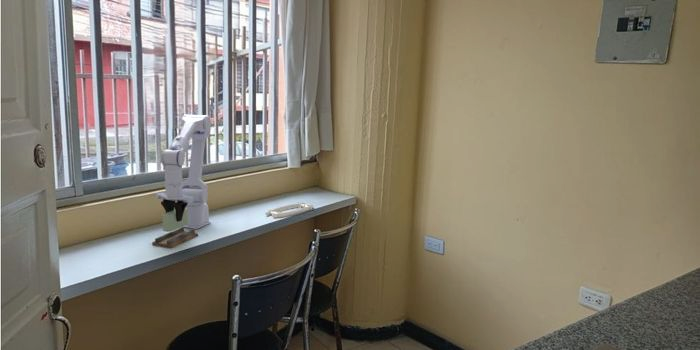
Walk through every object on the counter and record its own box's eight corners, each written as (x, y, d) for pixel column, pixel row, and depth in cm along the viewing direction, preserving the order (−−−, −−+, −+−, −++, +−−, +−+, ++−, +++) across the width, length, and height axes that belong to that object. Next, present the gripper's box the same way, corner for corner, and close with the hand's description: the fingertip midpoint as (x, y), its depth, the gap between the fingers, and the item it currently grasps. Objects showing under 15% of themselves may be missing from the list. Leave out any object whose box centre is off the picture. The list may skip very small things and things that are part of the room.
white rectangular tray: (261, 216, 214) (302, 205, 233) (276, 220, 207) (317, 210, 226) (261, 210, 213) (302, 200, 232) (276, 214, 207) (317, 204, 226)
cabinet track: (180, 232, 186) (180, 226, 185) (198, 235, 183) (197, 229, 183) (152, 244, 172) (152, 238, 172) (171, 248, 169) (170, 241, 169)
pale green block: (181, 223, 182) (180, 207, 181) (188, 224, 181) (187, 208, 180) (162, 230, 173) (162, 214, 172) (169, 231, 172) (169, 215, 171)
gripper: (149, 183, 172) (150, 220, 175) (183, 187, 168) (184, 225, 170) (163, 179, 179) (164, 215, 181) (196, 183, 174) (197, 220, 177)
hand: (175, 220), depth 176 cm, fingers closed on pale green block, 3 cm apart
